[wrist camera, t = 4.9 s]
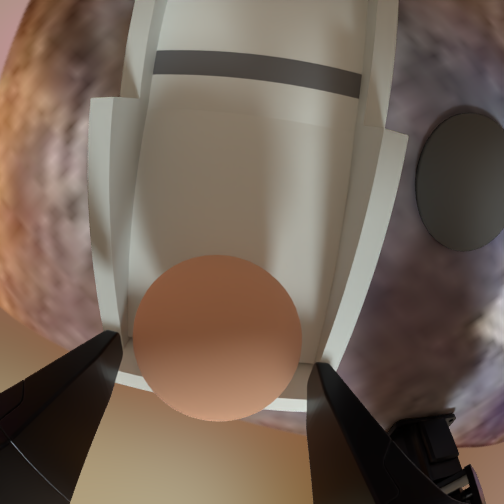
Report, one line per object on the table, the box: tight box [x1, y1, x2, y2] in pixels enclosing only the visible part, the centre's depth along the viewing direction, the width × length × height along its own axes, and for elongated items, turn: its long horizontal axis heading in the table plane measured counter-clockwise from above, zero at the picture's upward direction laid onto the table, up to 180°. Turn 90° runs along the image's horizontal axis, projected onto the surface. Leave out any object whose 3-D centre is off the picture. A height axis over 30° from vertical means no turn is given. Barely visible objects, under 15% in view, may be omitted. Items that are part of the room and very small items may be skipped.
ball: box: [133, 255, 302, 421], centre depth 9 cm, size 5×5×5 cm
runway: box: [88, 0, 409, 412], centre depth 9 cm, size 18×9×6 cm, turn 173°
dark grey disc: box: [416, 113, 504, 251], centre depth 12 cm, size 7×7×1 cm
